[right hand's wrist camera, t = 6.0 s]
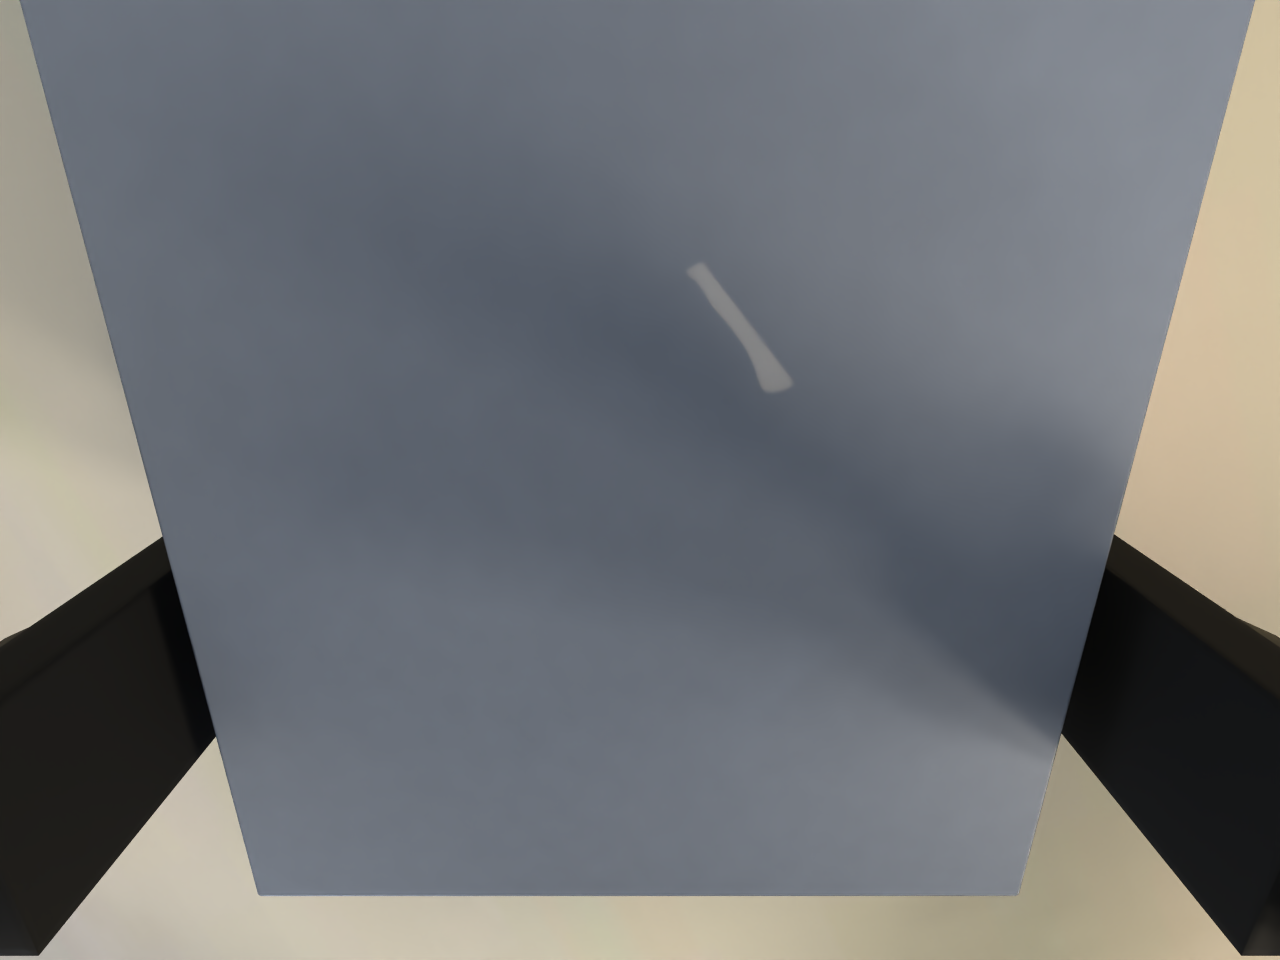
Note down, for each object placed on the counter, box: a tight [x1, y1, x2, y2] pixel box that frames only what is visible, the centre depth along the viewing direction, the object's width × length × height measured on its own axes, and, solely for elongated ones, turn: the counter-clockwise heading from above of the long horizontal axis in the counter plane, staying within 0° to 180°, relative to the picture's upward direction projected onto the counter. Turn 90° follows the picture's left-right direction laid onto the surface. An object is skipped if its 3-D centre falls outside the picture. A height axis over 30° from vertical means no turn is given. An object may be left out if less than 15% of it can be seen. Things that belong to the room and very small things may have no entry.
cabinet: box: [20, 0, 1255, 896], centre depth 10 cm, size 22×11×9 cm, turn 0°
